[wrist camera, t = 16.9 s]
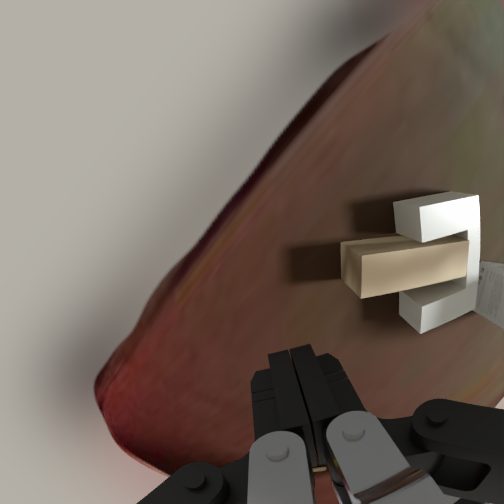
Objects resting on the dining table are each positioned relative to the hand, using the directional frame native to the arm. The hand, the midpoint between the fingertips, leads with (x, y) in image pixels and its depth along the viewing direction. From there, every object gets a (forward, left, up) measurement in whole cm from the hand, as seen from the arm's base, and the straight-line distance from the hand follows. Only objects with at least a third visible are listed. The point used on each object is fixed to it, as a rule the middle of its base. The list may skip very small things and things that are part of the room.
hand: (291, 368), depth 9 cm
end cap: (-4, -17, -16) cm, 24 cm away
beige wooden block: (-3, -13, -16) cm, 21 cm away
